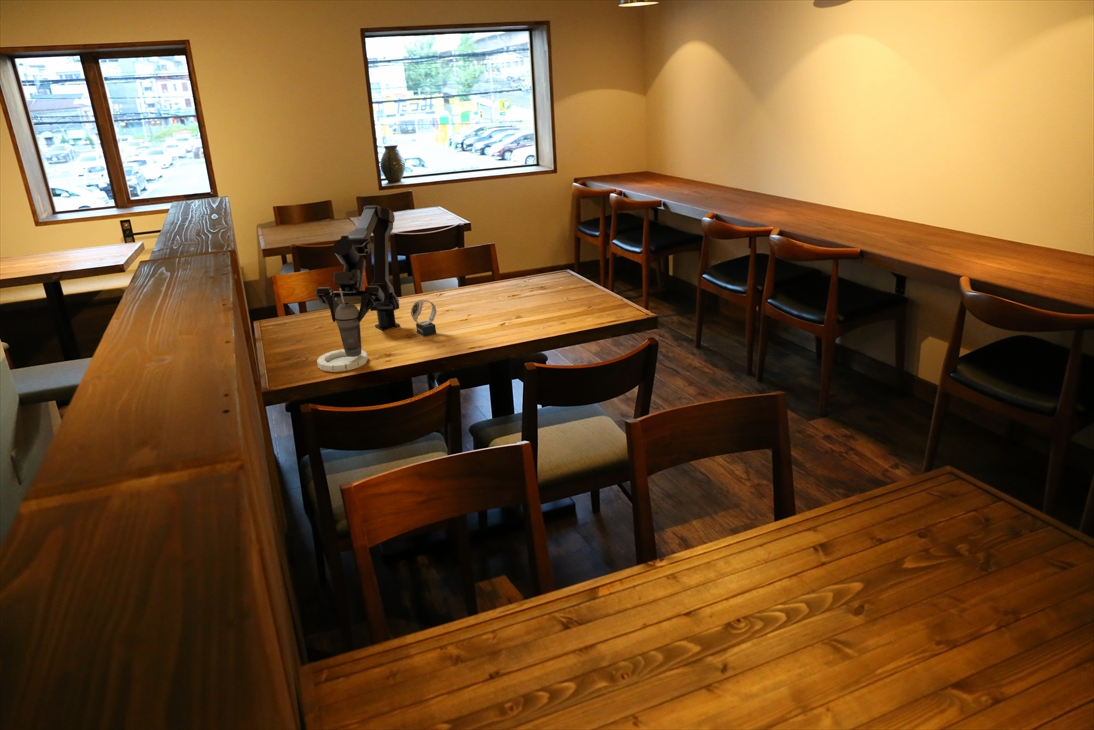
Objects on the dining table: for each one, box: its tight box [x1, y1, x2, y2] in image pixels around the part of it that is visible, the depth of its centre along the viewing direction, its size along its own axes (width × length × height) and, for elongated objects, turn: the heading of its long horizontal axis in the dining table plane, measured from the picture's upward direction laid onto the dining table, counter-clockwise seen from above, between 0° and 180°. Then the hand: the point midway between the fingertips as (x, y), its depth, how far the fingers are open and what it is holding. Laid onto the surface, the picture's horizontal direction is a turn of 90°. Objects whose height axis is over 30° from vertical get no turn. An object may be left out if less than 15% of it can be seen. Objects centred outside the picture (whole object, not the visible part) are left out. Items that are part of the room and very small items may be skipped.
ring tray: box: [316, 348, 369, 373], centre depth 217 cm, size 14×14×2 cm
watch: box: [410, 299, 437, 338], centre depth 237 cm, size 6×8×11 cm
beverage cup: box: [335, 288, 362, 357], centre depth 212 cm, size 7×7×20 cm
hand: (346, 321), depth 211 cm, fingers closed on beverage cup, 7 cm apart
